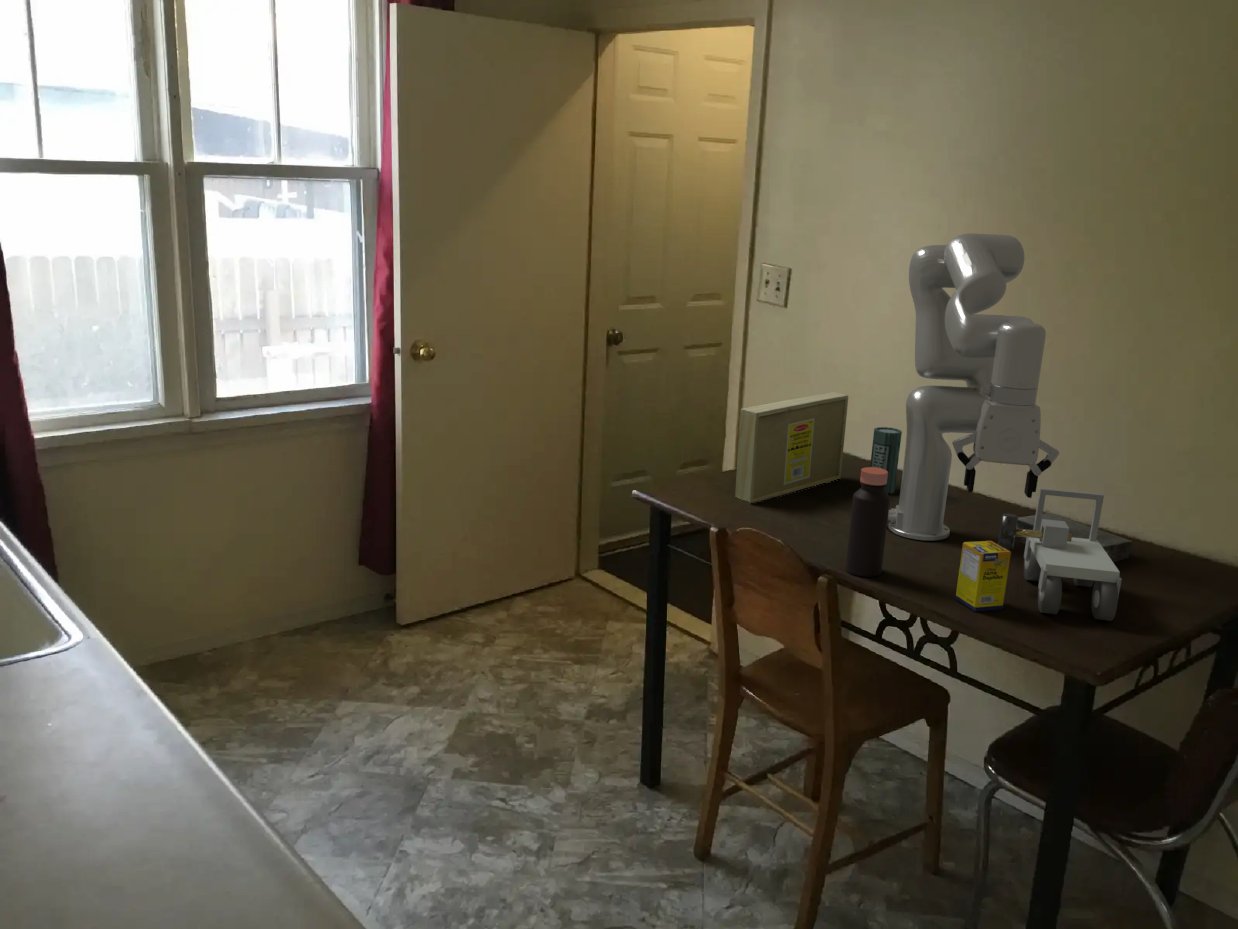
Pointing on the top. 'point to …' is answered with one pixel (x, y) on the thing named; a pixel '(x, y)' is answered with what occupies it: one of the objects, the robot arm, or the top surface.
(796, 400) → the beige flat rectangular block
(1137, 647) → the top surface
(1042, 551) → the trolley
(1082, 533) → the stone block
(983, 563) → the supplement box
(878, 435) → the can
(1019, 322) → the robot arm
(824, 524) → the top surface
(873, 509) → the bottle
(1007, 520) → the hammer
